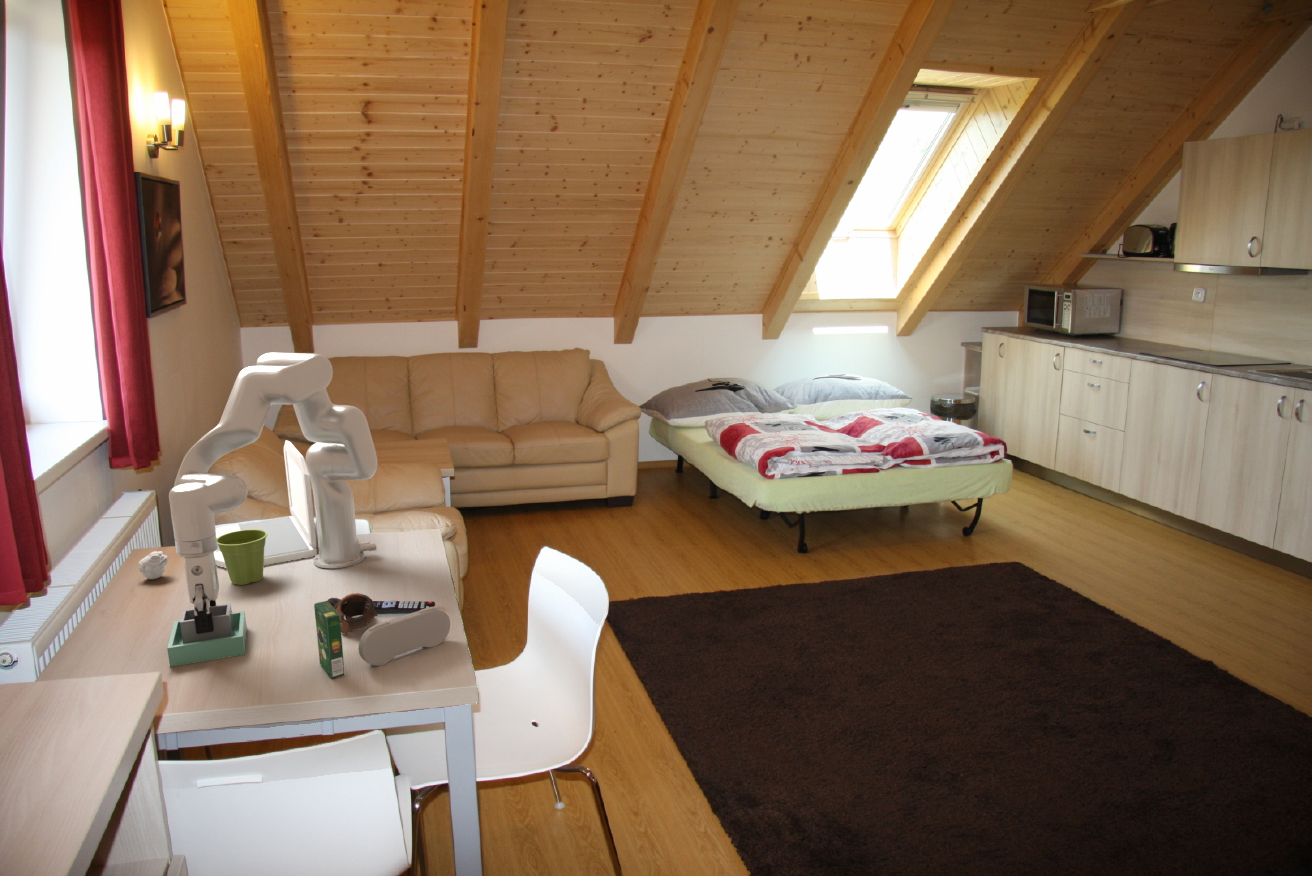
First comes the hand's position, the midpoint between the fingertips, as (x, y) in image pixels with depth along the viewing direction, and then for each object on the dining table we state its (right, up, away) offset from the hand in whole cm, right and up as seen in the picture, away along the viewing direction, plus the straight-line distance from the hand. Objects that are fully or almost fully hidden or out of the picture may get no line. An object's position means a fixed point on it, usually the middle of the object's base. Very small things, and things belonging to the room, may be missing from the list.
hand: (206, 622), depth 189 cm
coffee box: (+29, -8, -9) cm, 32 cm away
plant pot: (-8, +3, +37) cm, 38 cm away
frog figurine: (-31, +3, +38) cm, 50 cm away
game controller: (+42, -6, -3) cm, 43 cm away
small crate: (0, -4, +1) cm, 4 cm away
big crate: (0, -5, +1) cm, 5 cm away
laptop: (-15, +8, +61) cm, 63 cm away
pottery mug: (+26, -3, +11) cm, 29 cm away
